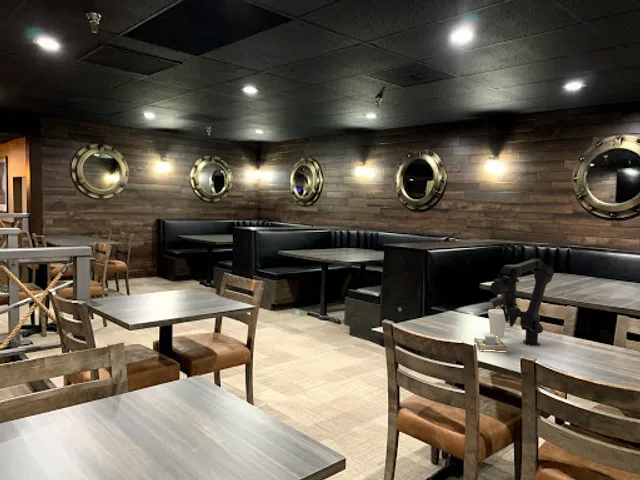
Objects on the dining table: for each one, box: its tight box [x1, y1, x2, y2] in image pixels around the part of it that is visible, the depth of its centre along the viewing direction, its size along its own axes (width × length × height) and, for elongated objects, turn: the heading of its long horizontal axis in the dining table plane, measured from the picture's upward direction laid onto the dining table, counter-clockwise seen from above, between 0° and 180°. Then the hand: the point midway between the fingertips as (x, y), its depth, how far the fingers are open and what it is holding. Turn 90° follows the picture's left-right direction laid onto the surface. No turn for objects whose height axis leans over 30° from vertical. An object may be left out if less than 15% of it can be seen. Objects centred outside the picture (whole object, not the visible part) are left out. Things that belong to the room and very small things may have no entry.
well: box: [474, 337, 508, 351], centre depth 234 cm, size 14×12×2 cm
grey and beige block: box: [484, 333, 497, 345], centre depth 233 cm, size 4×4×6 cm
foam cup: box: [487, 308, 507, 338], centre depth 253 cm, size 10×9×13 cm
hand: (508, 324), depth 231 cm, fingers open, 9 cm apart
